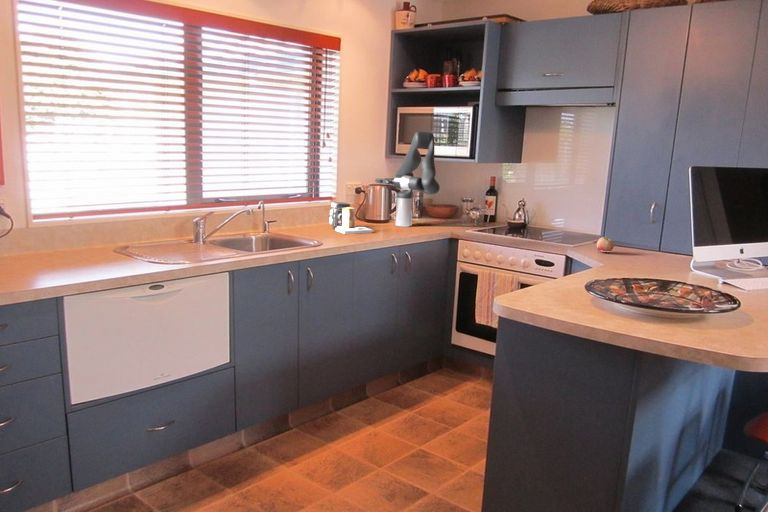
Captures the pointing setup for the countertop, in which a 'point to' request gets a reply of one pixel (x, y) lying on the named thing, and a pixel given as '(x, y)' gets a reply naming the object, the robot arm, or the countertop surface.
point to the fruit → (605, 244)
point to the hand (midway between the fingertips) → (380, 180)
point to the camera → (337, 213)
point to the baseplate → (353, 230)
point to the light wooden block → (348, 218)
